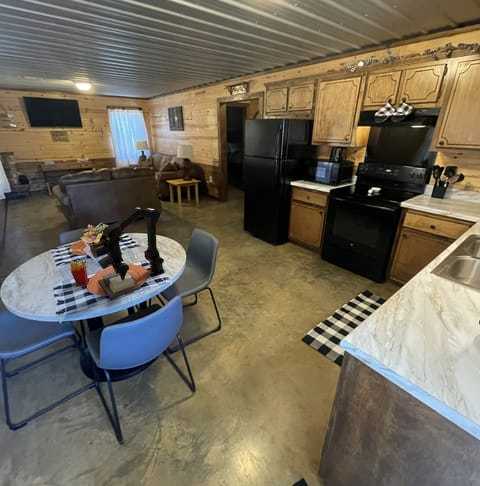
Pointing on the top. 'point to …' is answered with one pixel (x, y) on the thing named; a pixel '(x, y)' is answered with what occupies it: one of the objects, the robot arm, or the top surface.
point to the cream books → (122, 286)
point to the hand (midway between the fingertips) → (120, 276)
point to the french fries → (79, 272)
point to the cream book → (118, 281)
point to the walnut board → (119, 293)
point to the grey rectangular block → (109, 277)
